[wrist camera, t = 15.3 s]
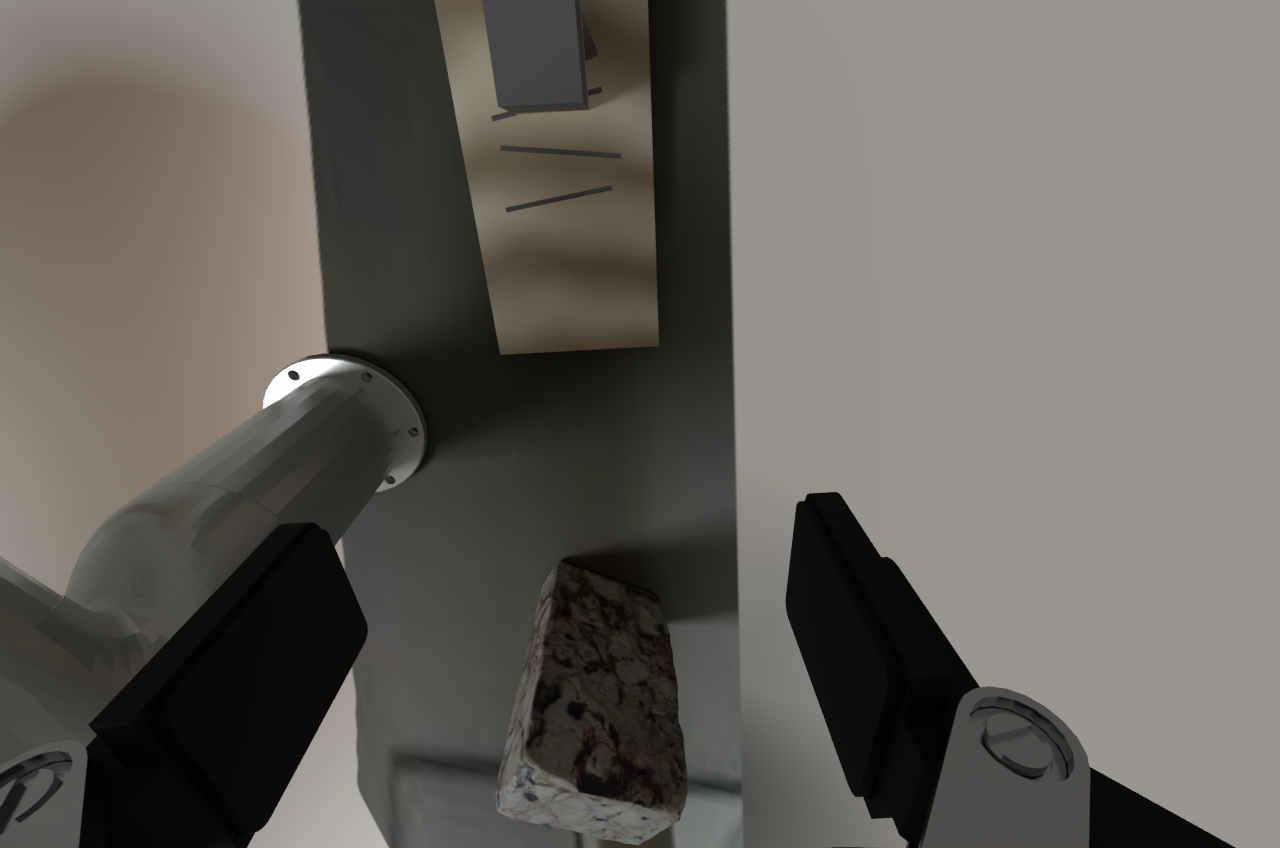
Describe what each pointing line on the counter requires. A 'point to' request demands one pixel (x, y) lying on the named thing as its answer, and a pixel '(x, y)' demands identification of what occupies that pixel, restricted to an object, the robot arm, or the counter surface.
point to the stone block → (595, 714)
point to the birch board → (563, 188)
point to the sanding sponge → (537, 55)
